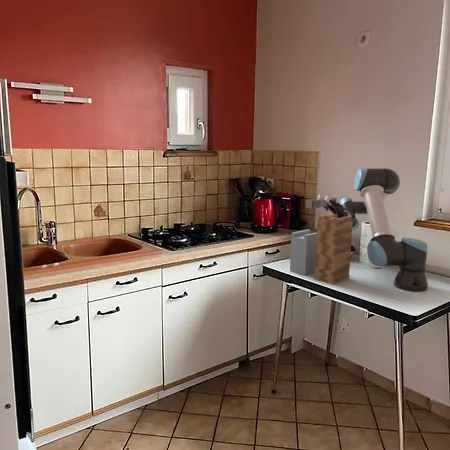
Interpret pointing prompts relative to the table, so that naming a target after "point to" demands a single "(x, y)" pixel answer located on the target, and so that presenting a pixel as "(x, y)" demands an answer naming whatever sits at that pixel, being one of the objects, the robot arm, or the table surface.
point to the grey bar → (318, 202)
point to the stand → (333, 248)
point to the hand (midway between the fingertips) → (322, 197)
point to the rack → (303, 252)
